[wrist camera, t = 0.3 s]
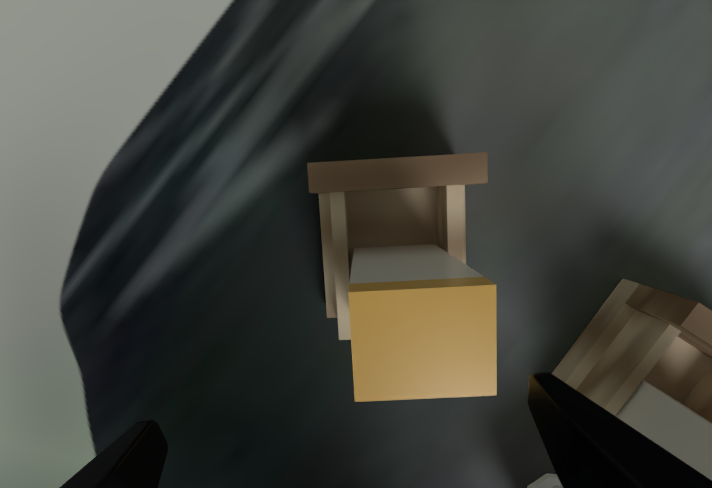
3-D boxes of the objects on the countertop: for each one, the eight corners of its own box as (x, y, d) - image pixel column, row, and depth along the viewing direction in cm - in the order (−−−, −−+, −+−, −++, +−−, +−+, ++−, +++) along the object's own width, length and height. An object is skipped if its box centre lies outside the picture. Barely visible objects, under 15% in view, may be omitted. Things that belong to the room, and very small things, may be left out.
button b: (643, 450, 24) (850, 638, 14) (582, 413, 24) (748, 577, 13) (681, 403, 23) (926, 562, 13) (619, 365, 23) (821, 497, 13)
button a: (436, 306, 23) (496, 395, 13) (357, 310, 23) (355, 401, 13) (434, 244, 22) (496, 284, 12) (353, 248, 22) (348, 292, 12)
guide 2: (637, 457, 26) (711, 527, 20) (535, 395, 25) (582, 450, 20) (727, 345, 25) (831, 388, 19) (622, 278, 24) (698, 302, 19)
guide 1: (460, 311, 25) (488, 343, 19) (329, 317, 25) (320, 352, 19) (457, 162, 23) (487, 152, 18) (319, 170, 23) (307, 162, 18)
